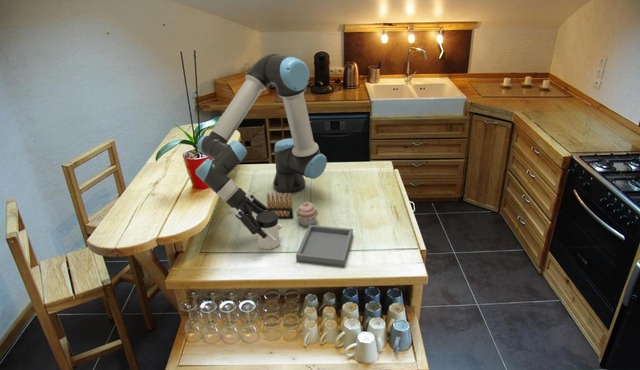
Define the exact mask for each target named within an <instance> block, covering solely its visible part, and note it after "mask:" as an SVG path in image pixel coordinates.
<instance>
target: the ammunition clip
mask: <svg viewBox="0 0 640 370" xmlns="http://www.w3.org/2000/svg"><path fill="white" fill-rule="evenodd" d="M266 197H267V198H266V199H267V200H266V203H267V204H266V205H267V206H266V207H267V208H269V209H270V210H271V212H275V213H276V214H277V215H278V220H294V210H293V209H294V208H293V200H292V199H293V198H292V193H291V194H290V193H289V194H286V193H284V196H283V193H280V192H276V193H275V194H274V192H271V195H270V193H269V192H267V195H266Z"/></svg>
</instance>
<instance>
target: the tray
mask: <svg viewBox="0 0 640 370" xmlns="http://www.w3.org/2000/svg"><path fill="white" fill-rule="evenodd" d="M353 232H354V228H344V227H343V228H342V227H335V226H327V225H316V224H314V225H309V227H307V230H306V231H305V234H304V236H303V238H302V240H301V242H300V245H299V247H298V249H297V252H296V255H295V258H296V259H295V262H297V263H305V264H312V265H322V266H329V267H339V268H345V266H346V262H347V258H348V255H349V251H350V248H351V243H352V240H353V235H354V233H353Z"/></svg>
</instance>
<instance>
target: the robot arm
mask: <svg viewBox="0 0 640 370" xmlns="http://www.w3.org/2000/svg"><path fill="white" fill-rule="evenodd" d="M244 78H245V80H244V82H243V84H242V85H241V86H240V88H239V89H238V91H237V93H236V94H235V95H234V97H233V99H232V100H231V101H230V103H229V105H228V106H227V107H226V109H225V111H223V113H222V114H221V116H220V118H219V120H217V122H216V124H215V125H214V127H213V128H212V129H211V132H210V133H209V134H208V135H206V134H205V135H203V136H201V137H200V138H199V139H198V141H197V149H198V151H199V152H200V153H201V154H202V155H204V156H205V157H208V158H206V159H205V160H204V161H203V162H202V163H201V164H200V165H199V166H198V167H197V168H196V169H195V172H194V173H195V175H196V176H197V177H198V178H199V179H200V180H201V182H203V183H204V184H205V185H206V186H207V187H209V189H210V190H212V191H213V192H214V193H215V194H216V195H217V196H218V197H220V198H221V199H222V200H223V201H225V203H226V204H227V205H228V206H229V207H230V208H231V209H236V211H237V212H236V214H234V215H235V217H236V218H237V219H238V220H240V221H241V223H242V224H243V226H244V227H246V228H247V230H249V232H250V233H251V234H252V235H258V234H259V235H260V236H261V237H262V238H264V239H265V240H266V241H267V242H268V243H270V244H271V243H273V242H274V241H275V240H276V239H275V238H274V237H273V236H271V235H270V234H269V233H268V232H267V231H266V230H265V229H264V228H262V229H261V227H260V226H259V224H258V222H257V221H256V217H254V215H253V213H254V214H256V215H258V214H259V213H261V212H265V211H271V210H270V209H269V208H268V207H267V206H266V205H265V204H264V203H262V202H261V201H260V200H258V199H257V198H256V197H255V196H254V195H253V194H251V195H249V197H248V196H247V193H246V192H245V190H243V188H241V187H239V184H237V183H236V182H235V181H234V180H233V179H232V178H231V177H229V176H228V175H229V174H230V173H231V172H232V171H233V170H234V169H235V168H236V167H238V165H239V164H241V162H242V161H243V160H244V159H245V157H246V156H247V154H248V151H247V149H246V147H245V146H244V145H243V144H242V143H241V142H239V141H238V140H232V141H231V142H229V141H230V139H231V138H232V137H233V135H234V133H235V132H236V131H237V129H238V127H239V126H240V124H241V123H242V122H243V120H244V119H245V117H246V116H247V114H248V112H249V111H250V109H251V108H252V106H254V104H255V102H256V100H257V99H258V97H259V96H260V94H261V93H262V92H264V91H266V90H267V89H268V88H269V86H271V85H274V86H275V90H276V93H277V95H278V97H280V98H282V102H283V106H284V109H285V113H286V118H287V121H288V126H289V130H290V135H291V138H283V139H281V140H278V141H277V142H276V143H274V161H275V162H274V163H275V174H274V175H275V176H274V179H273V182H272V183H273V185H272V186H273V189H274V191H276V193H279V194H280V193H282V194H285V193H286V194H287V195H289V193H290V194H291V195H292V194H296V193H299V192H301V191H303V190H304V189H305V188H306V180H305V178H308V179H311V180H312V179H317V178H319V177H320V176H321V175H322V174H323V173H324V172H325V169H326V168H327V163H328V160H327V156H325V155H324V154H323V153H321V151H320V147H319V145H318V143H317V142H315V140H314V137H313V132H312V127H311V122H310V118H309V117H310V116H309V113H308V109H307V103H306V99H305V94H304V93H305V92H306V90H307V86H308V84H309V80H310V70H309V67H308V65H307V64H306V63H305V62H304V61H303V60H301V59H300V58H299V59H298V58H296V57H294V56H286V55H282V54H278V53H270V54H266V55H264V56H262V57H260V58H259V59H258V60H256V62H255V63H254V64H253V65H252V66H251V67H250V69H249V70H248V72H247V73H246V74H245V77H244ZM228 142H229V143H228ZM282 228H283V226H282V225H281V224H280V222H278V229H279V231H280V230H281V229H282Z"/></svg>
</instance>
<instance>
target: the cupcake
mask: <svg viewBox="0 0 640 370" xmlns="http://www.w3.org/2000/svg"><path fill="white" fill-rule="evenodd" d="M318 212H319V210H317V209H316V206H315V205H314V204H312V203H311V202H309V201H305V202H303V203H302V204H300V205H299V206H298V209H297V211H295V216H296V217H297V220H298V222H299V224H300V226H302V227H307V228H308V227H309V225H315V224H316V220H317V217H318V215H319V213H318Z"/></svg>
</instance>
